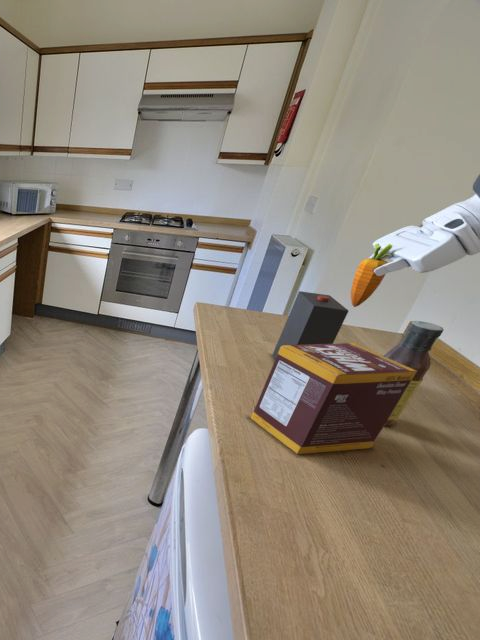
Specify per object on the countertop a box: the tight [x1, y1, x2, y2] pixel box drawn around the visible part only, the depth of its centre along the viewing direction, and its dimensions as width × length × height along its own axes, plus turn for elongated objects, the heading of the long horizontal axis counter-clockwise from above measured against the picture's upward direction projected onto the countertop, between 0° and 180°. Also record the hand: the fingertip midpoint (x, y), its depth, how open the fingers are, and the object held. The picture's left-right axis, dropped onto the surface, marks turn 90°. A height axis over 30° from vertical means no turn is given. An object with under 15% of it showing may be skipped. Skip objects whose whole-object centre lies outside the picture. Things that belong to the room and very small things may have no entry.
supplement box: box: [250, 342, 417, 455], centre depth 71 cm, size 10×15×16 cm
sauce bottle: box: [383, 320, 444, 426], centre depth 75 cm, size 7×6×20 cm
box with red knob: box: [271, 290, 349, 360], centre depth 92 cm, size 18×11×18 cm, turn 67°
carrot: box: [350, 244, 392, 308], centre depth 93 cm, size 5×5×15 cm
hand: (368, 269), depth 93 cm, fingers closed on carrot, 5 cm apart
